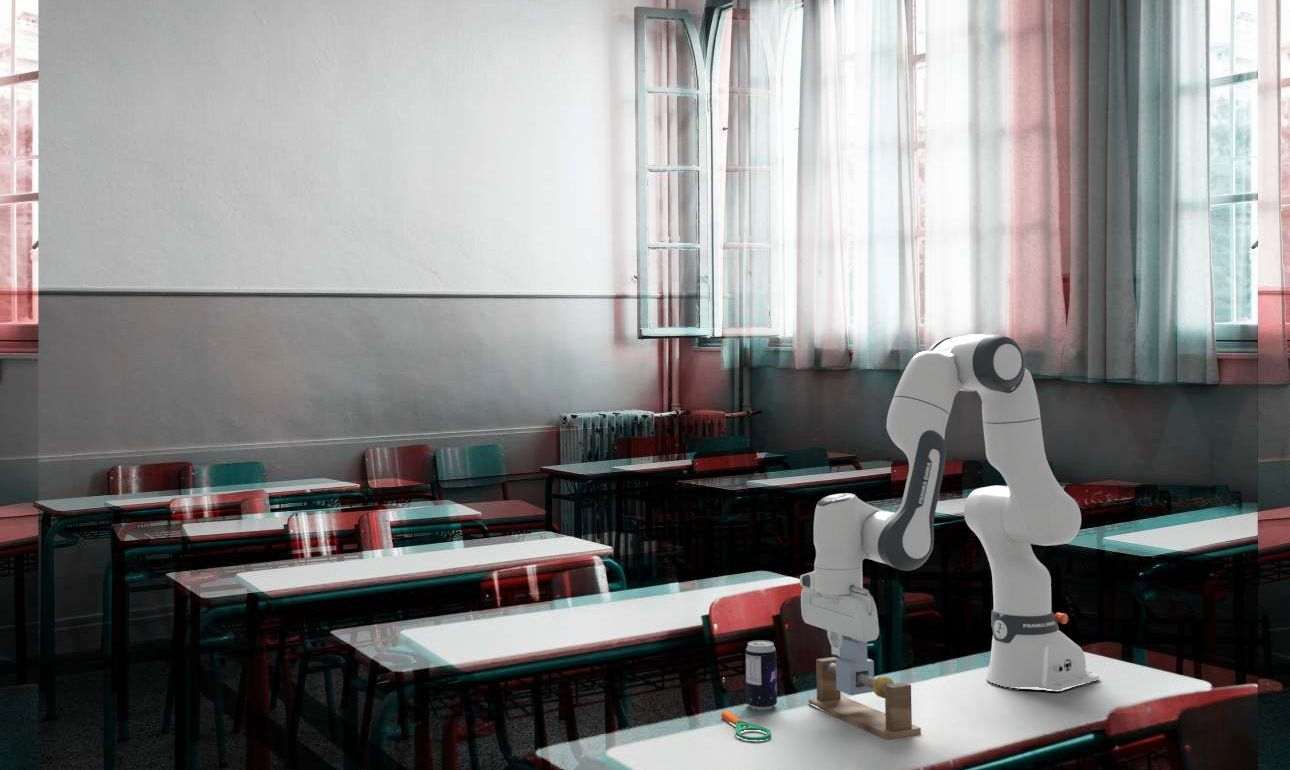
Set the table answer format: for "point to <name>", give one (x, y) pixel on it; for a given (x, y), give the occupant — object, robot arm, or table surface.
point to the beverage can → (761, 675)
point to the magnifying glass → (739, 727)
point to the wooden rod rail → (867, 718)
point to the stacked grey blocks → (853, 667)
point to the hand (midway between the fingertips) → (839, 656)
